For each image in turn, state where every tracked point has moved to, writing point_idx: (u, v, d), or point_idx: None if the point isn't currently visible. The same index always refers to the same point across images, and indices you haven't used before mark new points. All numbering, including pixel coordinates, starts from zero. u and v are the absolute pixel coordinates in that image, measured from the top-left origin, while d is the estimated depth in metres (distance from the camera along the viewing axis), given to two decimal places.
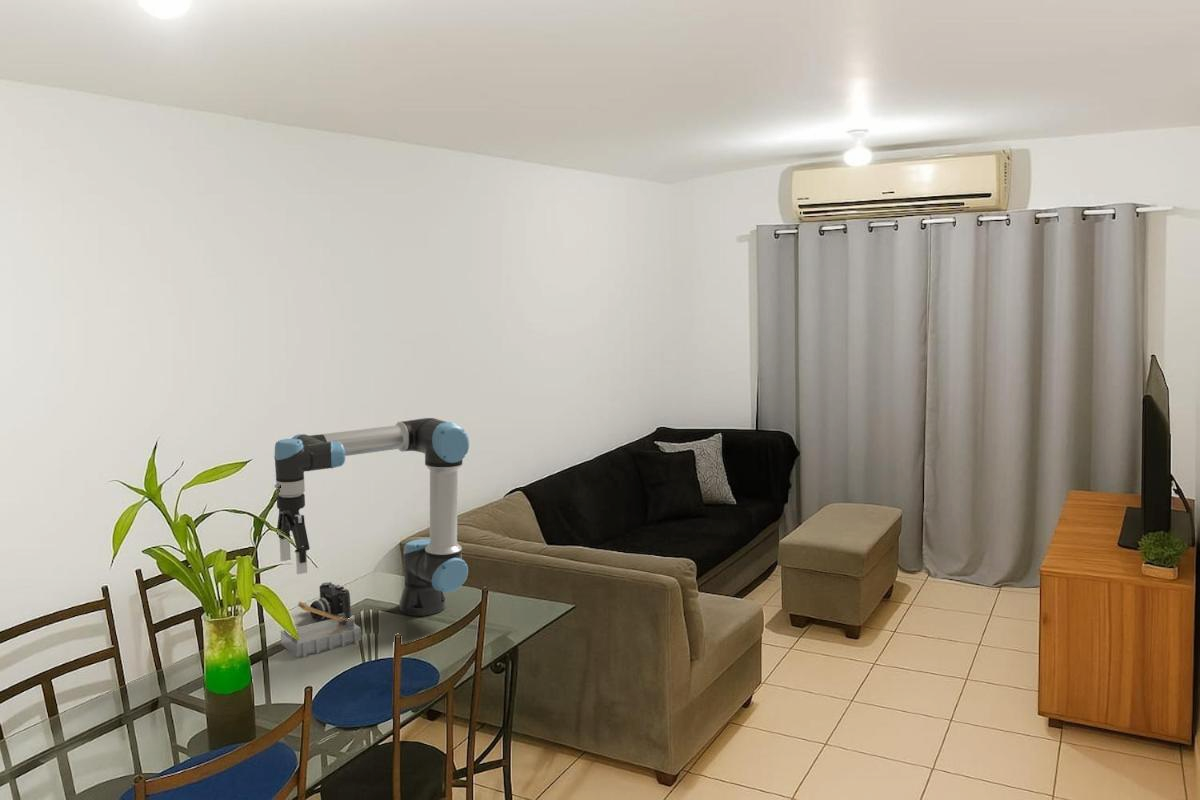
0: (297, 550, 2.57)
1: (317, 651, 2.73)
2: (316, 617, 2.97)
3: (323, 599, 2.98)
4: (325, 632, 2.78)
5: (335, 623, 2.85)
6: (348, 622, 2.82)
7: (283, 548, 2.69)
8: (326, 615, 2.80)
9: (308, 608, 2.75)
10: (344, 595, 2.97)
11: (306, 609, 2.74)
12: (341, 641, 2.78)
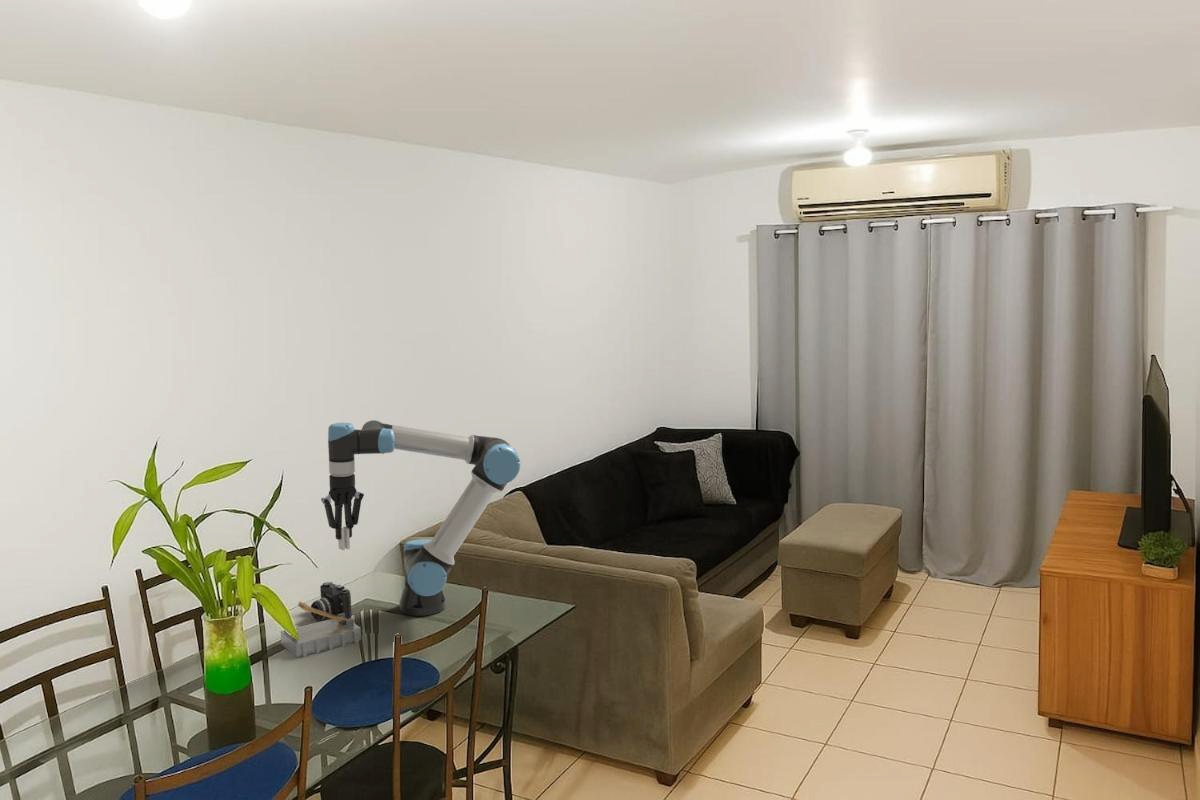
0: None
1: (317, 651, 2.73)
2: (317, 617, 2.97)
3: (324, 599, 2.98)
4: (325, 632, 2.78)
5: (335, 623, 2.85)
6: (348, 622, 2.82)
7: (344, 535, 2.87)
8: (326, 615, 2.80)
9: (308, 608, 2.75)
10: (345, 595, 2.97)
11: (306, 609, 2.74)
12: (341, 641, 2.78)
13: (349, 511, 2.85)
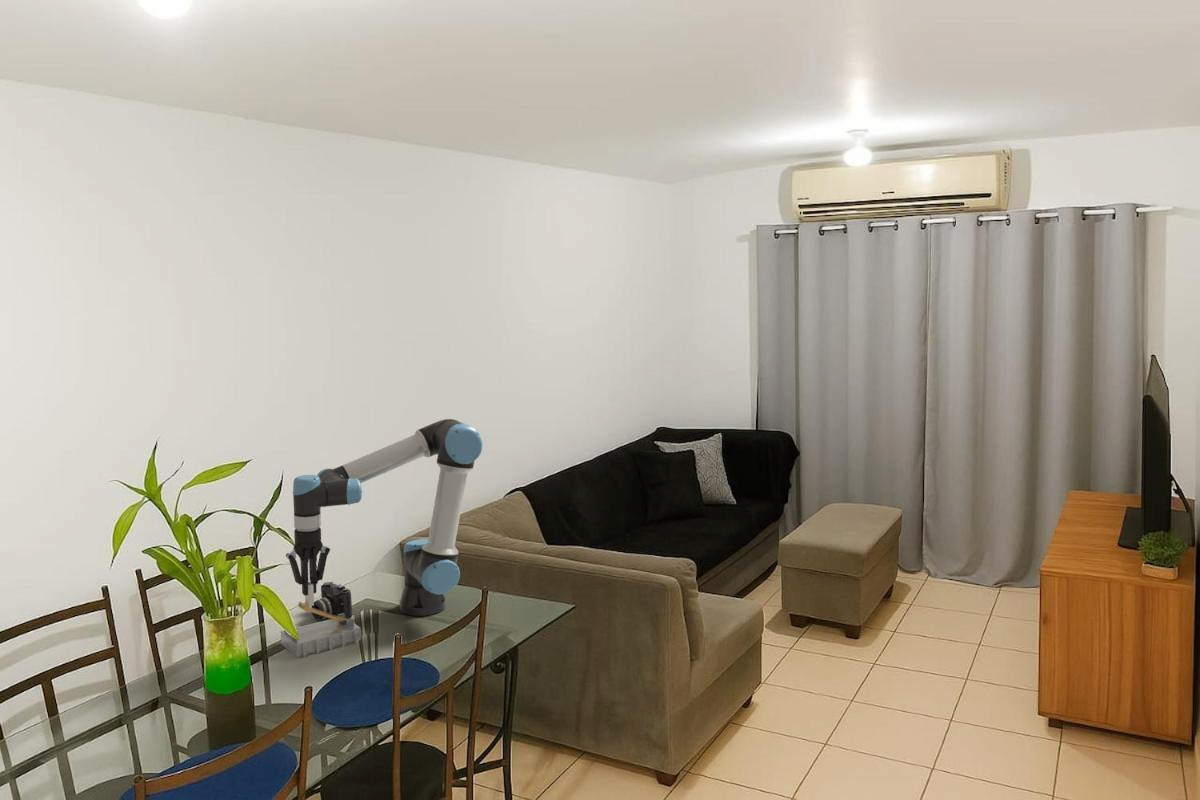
0: None
1: (317, 651, 2.73)
2: (317, 617, 2.97)
3: (324, 599, 2.98)
4: (325, 632, 2.78)
5: (335, 623, 2.85)
6: (348, 622, 2.82)
7: None
8: (326, 615, 2.80)
9: (308, 608, 2.75)
10: (346, 595, 2.97)
11: (306, 609, 2.74)
12: (341, 641, 2.78)
13: (314, 566, 2.76)
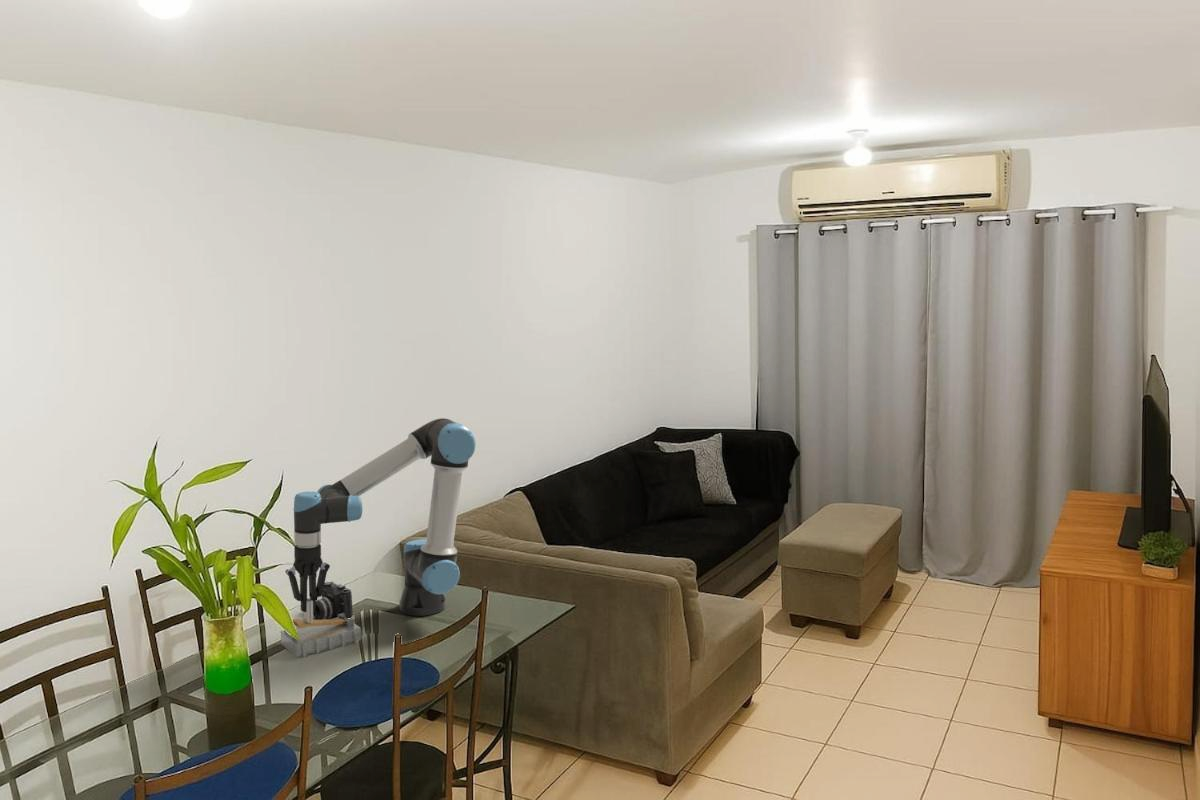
0: None
1: (317, 651, 2.73)
2: (318, 616, 2.97)
3: (325, 598, 2.98)
4: (325, 632, 2.78)
5: None
6: (348, 622, 2.82)
7: None
8: (323, 624, 2.79)
9: (302, 625, 2.74)
10: (346, 594, 2.98)
11: (300, 626, 2.74)
12: (341, 641, 2.78)
13: (314, 583, 2.76)
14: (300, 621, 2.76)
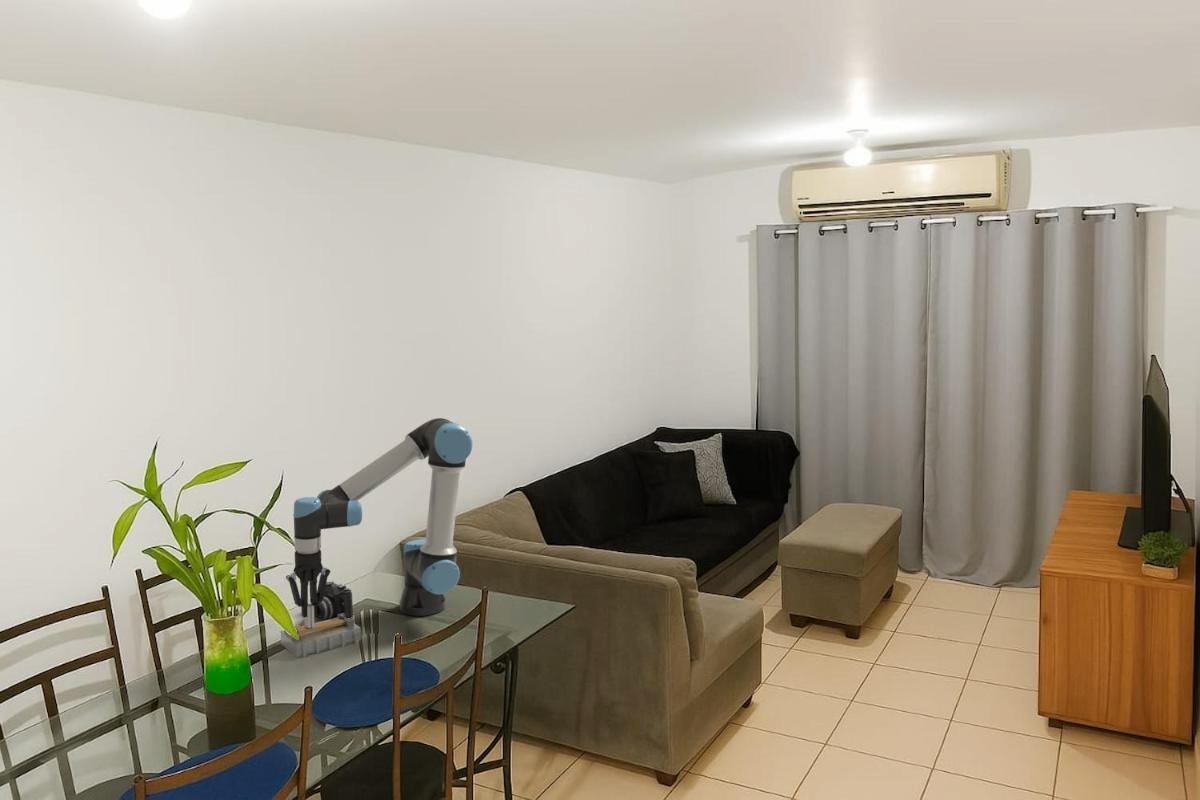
0: None
1: (317, 651, 2.73)
2: (318, 616, 2.97)
3: (325, 598, 2.98)
4: (325, 632, 2.78)
5: None
6: (348, 622, 2.82)
7: None
8: (322, 627, 2.79)
9: (301, 631, 2.74)
10: (347, 594, 2.98)
11: (299, 633, 2.74)
12: (341, 641, 2.78)
13: (314, 588, 2.77)
14: (299, 627, 2.76)
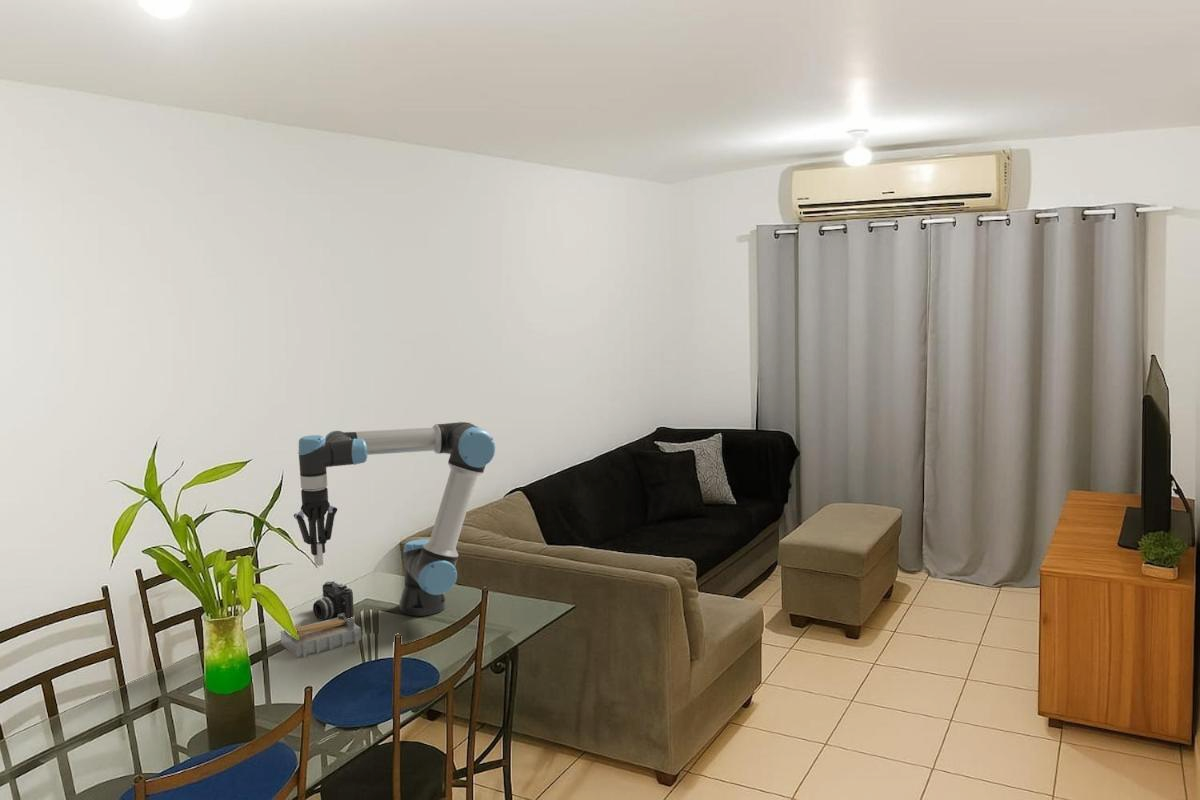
0: None
1: (317, 651, 2.73)
2: (319, 616, 2.98)
3: (326, 598, 2.99)
4: (325, 632, 2.78)
5: None
6: (348, 622, 2.82)
7: None
8: (322, 627, 2.79)
9: (301, 631, 2.74)
10: (347, 594, 2.98)
11: (299, 633, 2.74)
12: (341, 641, 2.78)
13: (322, 526, 2.77)
14: (299, 627, 2.76)
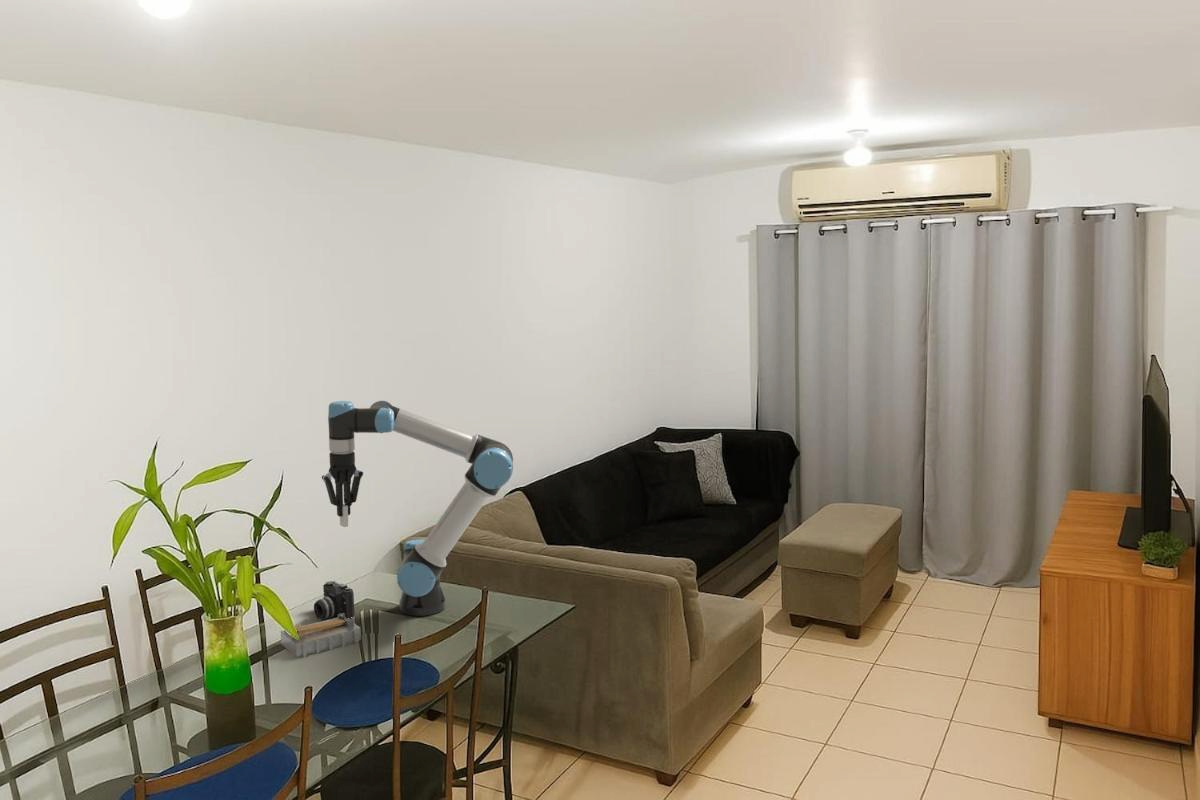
0: None
1: (317, 651, 2.73)
2: (320, 616, 2.98)
3: (327, 598, 2.99)
4: (325, 632, 2.78)
5: None
6: (348, 622, 2.82)
7: None
8: (322, 627, 2.79)
9: (301, 631, 2.74)
10: (348, 594, 2.98)
11: (299, 633, 2.74)
12: (341, 641, 2.78)
13: (348, 489, 2.88)
14: (299, 627, 2.76)
